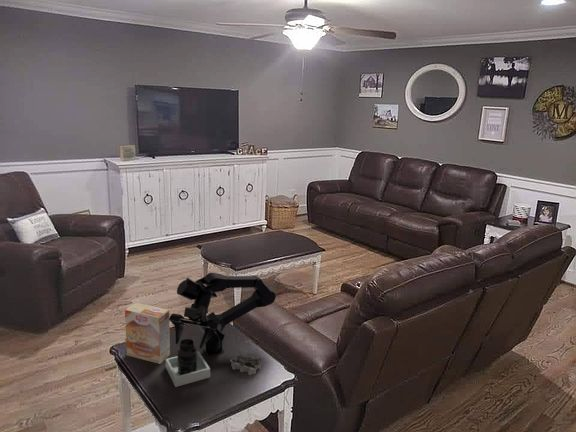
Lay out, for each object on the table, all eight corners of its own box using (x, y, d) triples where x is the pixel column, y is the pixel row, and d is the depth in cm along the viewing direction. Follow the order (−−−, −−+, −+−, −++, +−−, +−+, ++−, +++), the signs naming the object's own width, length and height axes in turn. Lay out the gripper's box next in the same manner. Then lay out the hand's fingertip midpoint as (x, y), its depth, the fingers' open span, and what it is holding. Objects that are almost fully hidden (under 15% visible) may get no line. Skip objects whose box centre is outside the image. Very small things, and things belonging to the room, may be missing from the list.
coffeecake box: (126, 355, 166) (124, 309, 161) (137, 346, 173) (136, 301, 168) (160, 364, 162) (158, 317, 157) (170, 354, 169) (169, 309, 164)
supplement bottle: (179, 365, 161) (179, 336, 158) (197, 365, 161) (198, 337, 158) (175, 377, 154) (175, 347, 151) (195, 377, 155) (195, 347, 152)
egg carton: (262, 367, 164) (263, 357, 163) (252, 377, 158) (252, 368, 157) (239, 358, 169) (239, 349, 168) (228, 368, 163) (228, 358, 162)
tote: (198, 358, 167) (198, 350, 166) (210, 377, 156) (210, 368, 156) (165, 367, 161) (165, 359, 160) (175, 387, 150) (175, 378, 149)
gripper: (171, 293, 158) (156, 335, 151) (219, 301, 155) (206, 344, 147) (180, 303, 168) (167, 343, 160) (226, 311, 164) (215, 352, 157)
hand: (188, 346), depth 156 cm, fingers open, 9 cm apart
